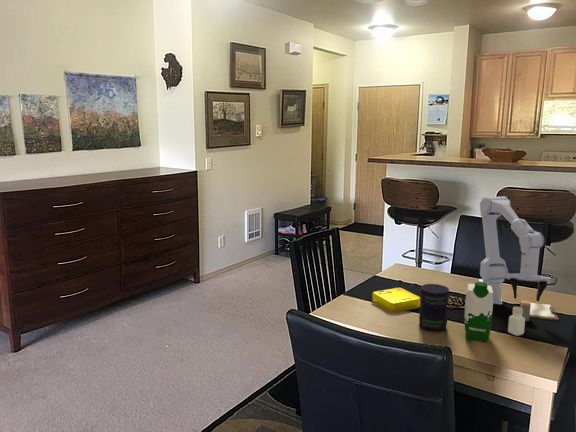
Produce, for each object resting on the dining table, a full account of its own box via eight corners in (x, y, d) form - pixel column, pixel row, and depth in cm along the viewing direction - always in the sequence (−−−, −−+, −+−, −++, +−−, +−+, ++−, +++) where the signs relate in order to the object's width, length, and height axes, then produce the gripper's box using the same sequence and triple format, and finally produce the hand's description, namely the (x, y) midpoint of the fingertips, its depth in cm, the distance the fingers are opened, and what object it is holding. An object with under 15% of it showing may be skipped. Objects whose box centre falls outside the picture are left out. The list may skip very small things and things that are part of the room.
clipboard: (523, 316, 184) (523, 312, 184) (519, 302, 198) (520, 299, 198) (558, 320, 180) (559, 317, 179) (552, 306, 194) (552, 302, 194)
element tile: (391, 313, 188) (392, 302, 187) (370, 301, 201) (370, 290, 200) (422, 308, 193) (422, 296, 192) (399, 296, 207) (400, 285, 206)
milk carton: (463, 340, 163) (467, 284, 160) (462, 329, 172) (466, 276, 168) (491, 344, 160) (495, 287, 157) (489, 333, 169) (493, 279, 165)
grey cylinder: (520, 320, 180) (521, 302, 179) (519, 317, 183) (520, 300, 182) (529, 321, 179) (530, 303, 178) (528, 318, 182) (529, 301, 181)
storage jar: (442, 335, 167) (445, 294, 165) (415, 329, 173) (417, 289, 170) (449, 325, 176) (452, 286, 173) (423, 319, 181) (425, 282, 178)
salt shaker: (516, 336, 166) (519, 310, 164) (507, 332, 170) (509, 307, 168) (524, 334, 168) (526, 308, 166) (514, 330, 171) (516, 305, 170)
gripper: (508, 265, 176) (505, 300, 178) (553, 269, 171) (549, 305, 173) (507, 260, 182) (504, 294, 185) (550, 264, 177) (546, 298, 180)
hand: (526, 299), depth 180 cm, fingers open, 7 cm apart
